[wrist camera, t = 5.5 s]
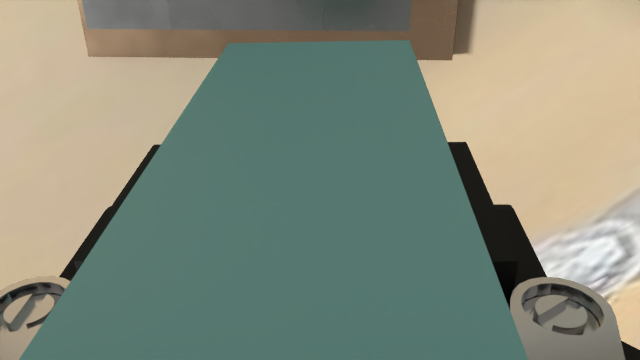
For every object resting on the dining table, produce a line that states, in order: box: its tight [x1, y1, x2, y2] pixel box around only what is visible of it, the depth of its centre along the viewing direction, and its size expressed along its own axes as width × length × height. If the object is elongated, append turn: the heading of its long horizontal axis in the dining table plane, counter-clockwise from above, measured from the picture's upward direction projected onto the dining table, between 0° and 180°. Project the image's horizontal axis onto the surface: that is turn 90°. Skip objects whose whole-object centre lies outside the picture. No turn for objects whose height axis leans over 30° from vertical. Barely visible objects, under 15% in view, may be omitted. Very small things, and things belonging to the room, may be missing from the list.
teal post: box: [19, 40, 528, 360], centre depth 10 cm, size 5×5×12 cm
